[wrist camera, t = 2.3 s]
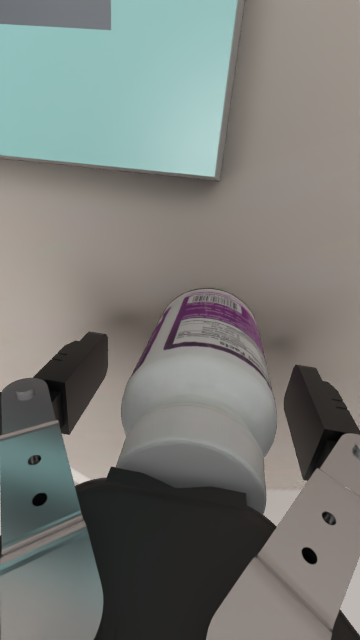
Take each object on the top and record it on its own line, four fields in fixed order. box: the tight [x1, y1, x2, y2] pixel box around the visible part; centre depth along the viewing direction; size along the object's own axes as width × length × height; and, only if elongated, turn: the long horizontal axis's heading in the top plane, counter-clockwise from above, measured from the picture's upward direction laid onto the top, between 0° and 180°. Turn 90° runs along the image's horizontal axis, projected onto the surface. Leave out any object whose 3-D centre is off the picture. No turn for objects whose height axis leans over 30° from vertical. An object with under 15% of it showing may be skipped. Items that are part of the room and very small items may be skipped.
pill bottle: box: [116, 289, 277, 515], centre depth 12 cm, size 5×5×10 cm
